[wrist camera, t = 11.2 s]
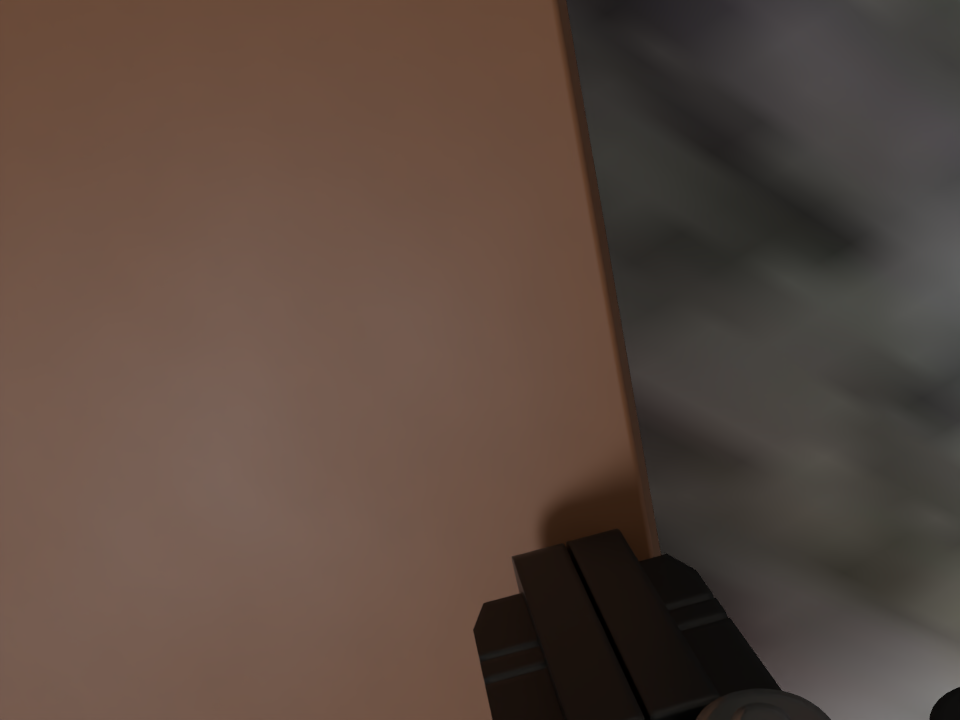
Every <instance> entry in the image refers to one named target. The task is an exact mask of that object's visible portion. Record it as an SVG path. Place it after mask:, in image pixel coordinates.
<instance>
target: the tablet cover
mask: <svg viewBox="0 0 960 720" xmlns="http://www.w3.org/2000/svg"><path fill="white" fill-rule="evenodd" d="M613 529H619V530H620V531H621V533H622V534H623V536H624V538H625V539H626V541H627V543H628V544H629V546H630V548H631V549H632V551H633V553H634V554H635V556H636V557H637V559H638V561H642V560H646V559H649V558H653V557H657V556H661V552H660V546H659V540H658V534H657V529H656V523H655V517H654V511H653V505H652V499H651V494H650V488H649V482H648V476H647V470H646V464H645V458H644V453H643V447H642V441H641V435H640V429H639V423H638V418H637V412H636V406H635V400H634V394H633V388H632V383H631V377H630V371H629V365H628V359H627V353H626V348H625V342H624V336H623V330H622V324H621V318H620V313H619V307H618V301H617V295H616V289H615V283H614V278H613V272H612V266H611V260H610V254H609V248H608V242H607V237H606V231H605V225H604V219H603V213H602V207H601V202H600V196H599V190H598V184H597V178H596V172H595V167H594V161H593V155H592V149H591V143H590V137H589V132H588V126H587V120H586V114H585V108H584V102H583V97H582V91H581V85H580V79H579V73H578V67H577V61H576V56H575V50H574V44H573V38H572V32H571V26H570V21H569V15H568V9H567V3H566V0H0V720H492V715H491V711H490V706H489V702H488V697H487V692H486V688H485V683H484V679H483V674H482V669H481V665H480V660H479V655H478V651H477V646H476V642H475V637H474V632H473V629H474V626H475V624H476V621H477V618H478V616H479V613H480V611H481V608H482V605H483V603H485V602H489V601H493V600H497V599H500V598H504V597H508V596H512V595H515V594H519V589H518V585H517V581H516V576H515V572H514V567H513V563H512V556H515V555H519V554H523V553H527V552H530V551H534V550H538V549H542V548H545V547H549V546H553V545H557V544H561V543H563V544H564V545H565V547H566V542H567V541H571V540H575V539H579V538H583V537H586V536H590V535H594V534H598V533H602V532H605V531H609V530H613Z"/></svg>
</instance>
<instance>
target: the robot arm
mask: <svg viewBox="0 0 960 720" xmlns="http://www.w3.org/2000/svg"><path fill="white" fill-rule="evenodd" d="M512 563H513V567H514V572H515V576H516V581H517V585H518V589H519V594H515V595H512V596H508V597H504V598H500V599H497V600H493V601H489V602H485V603H483V605H482V608H481V611H480V613H479V616H478V618H477V621H476V624H475V626H474V629H473V632H474V637H475V642H476V646H477V651H478V655H479V660H480V665H481V669H482V674H483V679H484V683H485V688H486V692H487V697H488V702H489V706H490V711H491V715H492V720H831V719H830V718H829V717H828V716H827V715H826V714H825V713H824V712H823V711H822V710H821V709H820V708H819V707H817V706H816V705H814V704H813V703H811V702H810V701H808V700H806V699H804V698H802V697H800V696H798V695H795V694H792V693H789V692H785V691H782V690H781V689H780V687H779V686H778V684H777V683H776V682H775V680H774V679H773V677H772V676H771V675H770V673H769V672H768V670H767V669H766V668H765V666H764V665H763V663H762V662H761V661H760V659H759V658H758V656H757V655H756V654H755V652H754V651H753V649H752V648H751V647H750V645H749V644H748V642H747V641H746V640H745V638H744V637H743V635H742V634H741V633H740V631H739V630H738V628H737V627H736V626H735V624H734V623H733V621H732V620H731V619H730V618H728V617H727V614H726V612H725V610H724V609H723V607H722V606H721V605H720V603H719V602H718V600H717V599H716V598H714V597H713V594H712V592H711V591H710V589H709V588H708V586H707V585H706V584H705V582H704V581H703V579H702V578H701V577H700V575H699V574H698V572H697V571H696V570H695V569H693V568H691V567H689V566H688V565H686V564H684V563H682V562H680V561H678V560H677V559H675V558H673V557H671V556H669V555H668V554H664V555H661V556H657V557H653V558H649V559H646V560H642V561H638V559H637V557H636V556H635V554H634V553H633V551H632V549H631V548H630V546H629V544H628V543H627V541H626V539H625V538H624V536H623V534H622V533H621V531H620V530H619V529H613V530H609V531H605V532H602V533H598V534H594V535H590V536H586V537H583V538H579V539H575V540H571V541H567V542H566V547H565V545H564V544H563V543H561V544H557V545H553V546H549V547H545V548H542V549H538V550H534V551H530V552H527V553H523V554H519V555H515V556H512ZM930 720H960V687H959V688H956V689H954V690H952V691H950V692H948V693H946V694H945V695H944V696H943V697H941V698H940V699H939V700H938V701H937V703H936V704H935V705H934V707H933V709H932V711H931V714H930Z"/></svg>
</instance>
